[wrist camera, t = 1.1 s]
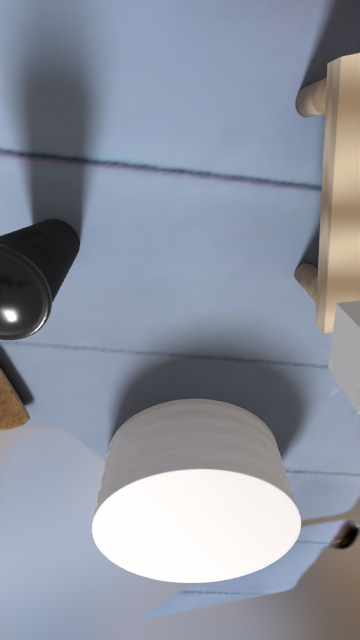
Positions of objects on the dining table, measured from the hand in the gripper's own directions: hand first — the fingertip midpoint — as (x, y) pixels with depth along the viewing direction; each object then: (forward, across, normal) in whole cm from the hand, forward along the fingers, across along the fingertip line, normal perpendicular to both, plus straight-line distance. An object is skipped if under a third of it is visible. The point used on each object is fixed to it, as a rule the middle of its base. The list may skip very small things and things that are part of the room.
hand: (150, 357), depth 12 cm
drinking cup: (+25, -12, -2) cm, 28 cm away
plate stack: (+25, -2, -40) cm, 47 cm away
